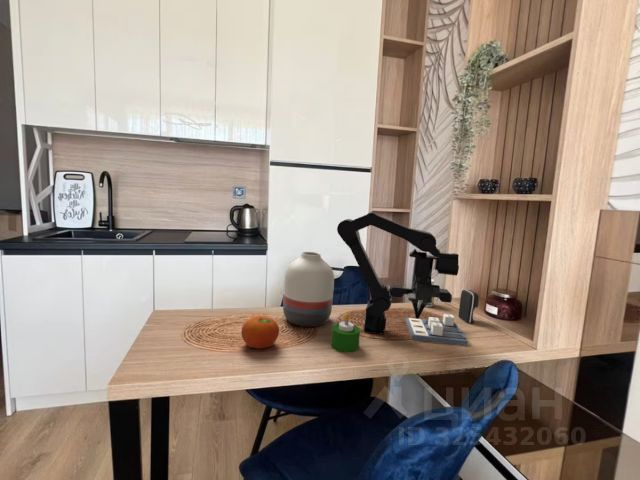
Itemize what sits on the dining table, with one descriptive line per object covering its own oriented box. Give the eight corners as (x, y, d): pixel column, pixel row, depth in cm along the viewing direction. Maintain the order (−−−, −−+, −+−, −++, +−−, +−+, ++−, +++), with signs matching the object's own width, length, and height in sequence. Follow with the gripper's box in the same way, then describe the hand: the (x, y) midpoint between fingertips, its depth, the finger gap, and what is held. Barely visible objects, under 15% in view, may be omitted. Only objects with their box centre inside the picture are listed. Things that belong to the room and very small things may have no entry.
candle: (326, 341, 107) (328, 310, 105) (350, 338, 110) (352, 308, 109) (338, 354, 99) (340, 320, 98) (363, 350, 103) (366, 317, 101)
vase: (313, 334, 111) (318, 260, 108) (271, 320, 120) (275, 252, 117) (339, 319, 126) (345, 254, 122) (300, 308, 134) (304, 247, 131)
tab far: (444, 325, 123) (445, 316, 122) (442, 321, 126) (443, 313, 125) (453, 326, 122) (454, 317, 122) (451, 322, 125) (452, 314, 125)
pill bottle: (424, 301, 154) (427, 277, 152) (436, 306, 149) (439, 280, 147) (414, 303, 151) (417, 278, 149) (426, 308, 145) (429, 282, 144)
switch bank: (411, 339, 113) (412, 333, 113) (405, 321, 129) (406, 316, 128) (466, 345, 111) (467, 339, 111) (453, 326, 127) (454, 321, 127)
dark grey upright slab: (477, 323, 131) (481, 294, 130) (467, 323, 131) (471, 293, 129) (466, 316, 138) (470, 288, 137) (457, 316, 138) (461, 288, 136)
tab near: (432, 334, 113) (433, 325, 113) (430, 330, 116) (431, 321, 116) (442, 335, 113) (443, 326, 113) (440, 331, 116) (441, 322, 116)
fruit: (236, 340, 103) (237, 314, 102) (269, 335, 109) (270, 310, 107) (248, 356, 94) (249, 328, 93) (284, 350, 99) (285, 323, 98)
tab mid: (429, 328, 118) (430, 319, 118) (427, 325, 121) (428, 316, 121) (438, 329, 118) (439, 320, 118) (436, 326, 121) (437, 317, 121)
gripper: (395, 274, 106) (389, 324, 108) (459, 280, 104) (452, 331, 106) (391, 266, 117) (387, 312, 119) (450, 272, 115) (444, 318, 117)
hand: (416, 318), depth 115 cm, fingers closed
